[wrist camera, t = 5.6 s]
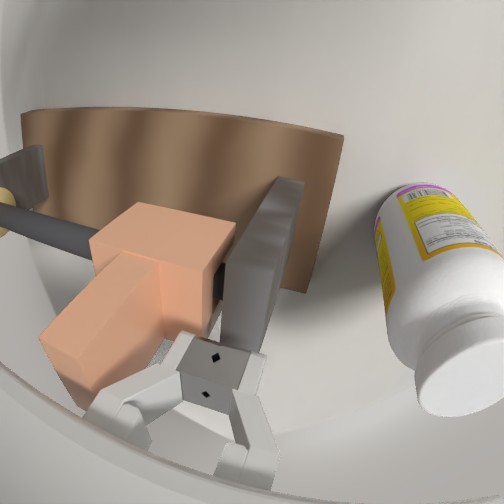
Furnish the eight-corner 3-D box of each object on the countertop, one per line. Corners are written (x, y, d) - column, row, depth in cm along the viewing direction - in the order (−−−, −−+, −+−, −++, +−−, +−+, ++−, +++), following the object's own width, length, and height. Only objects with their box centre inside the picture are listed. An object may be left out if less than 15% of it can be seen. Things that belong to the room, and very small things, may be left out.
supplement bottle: (415, 283, 21) (441, 442, 10) (352, 229, 20) (351, 395, 10) (479, 223, 17) (563, 366, 7) (420, 157, 17) (516, 279, 6)
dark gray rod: (270, 233, 14) (248, 281, 11) (259, 295, 16) (239, 347, 13) (-22, 173, 18) (-54, 191, 15) (-14, 212, 20) (-43, 231, 17)
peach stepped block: (235, 222, 14) (129, 383, 7) (229, 296, 16) (153, 445, 9) (138, 201, 14) (5, 314, 7) (143, 271, 17) (47, 388, 10)
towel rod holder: (343, 135, 17) (349, 201, 8) (308, 281, 23) (280, 407, 14) (32, 110, 22) (-64, 148, 12) (44, 213, 28) (-32, 269, 18)
